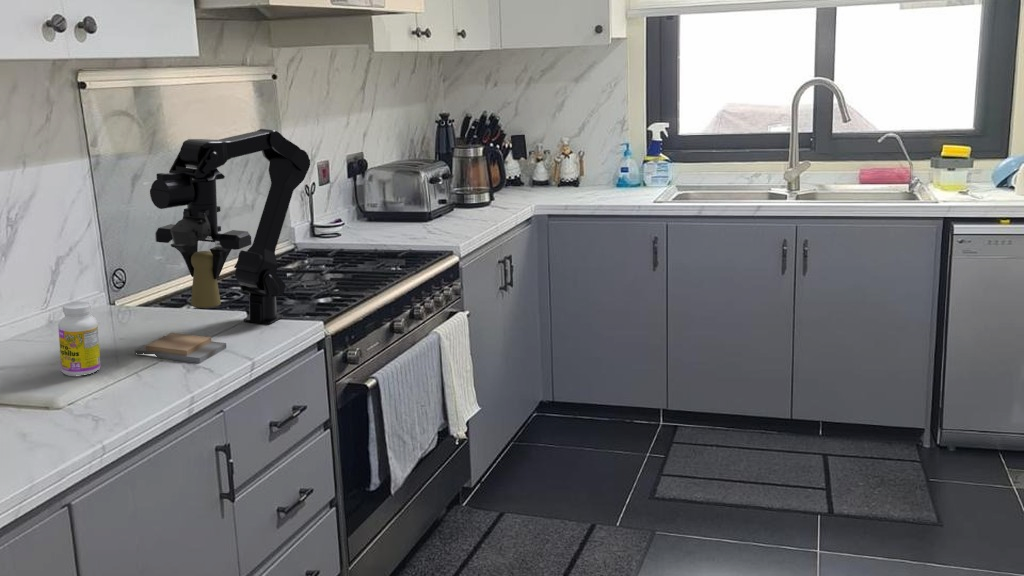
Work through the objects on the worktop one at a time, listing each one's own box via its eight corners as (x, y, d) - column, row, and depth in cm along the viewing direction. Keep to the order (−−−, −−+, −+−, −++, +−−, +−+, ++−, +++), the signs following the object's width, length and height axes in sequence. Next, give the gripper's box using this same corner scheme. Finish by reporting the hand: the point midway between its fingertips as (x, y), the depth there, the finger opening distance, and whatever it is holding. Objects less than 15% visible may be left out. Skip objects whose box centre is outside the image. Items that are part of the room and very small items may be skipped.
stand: (164, 340, 201) (164, 330, 201) (226, 347, 198) (226, 338, 198) (135, 354, 192) (134, 345, 191) (199, 363, 189) (199, 353, 188)
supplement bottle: (53, 373, 180) (48, 305, 177) (84, 363, 186) (79, 297, 183) (78, 380, 177) (73, 311, 174) (108, 369, 183) (104, 303, 180)
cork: (193, 308, 199) (191, 255, 196) (188, 301, 204) (185, 249, 202) (223, 306, 202) (222, 254, 199) (217, 298, 207) (216, 247, 204)
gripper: (137, 205, 192) (141, 282, 196) (223, 213, 188) (226, 291, 192) (169, 196, 203) (172, 270, 207) (251, 204, 199) (253, 278, 203)
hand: (204, 277), depth 202 cm, fingers closed on cork, 5 cm apart
